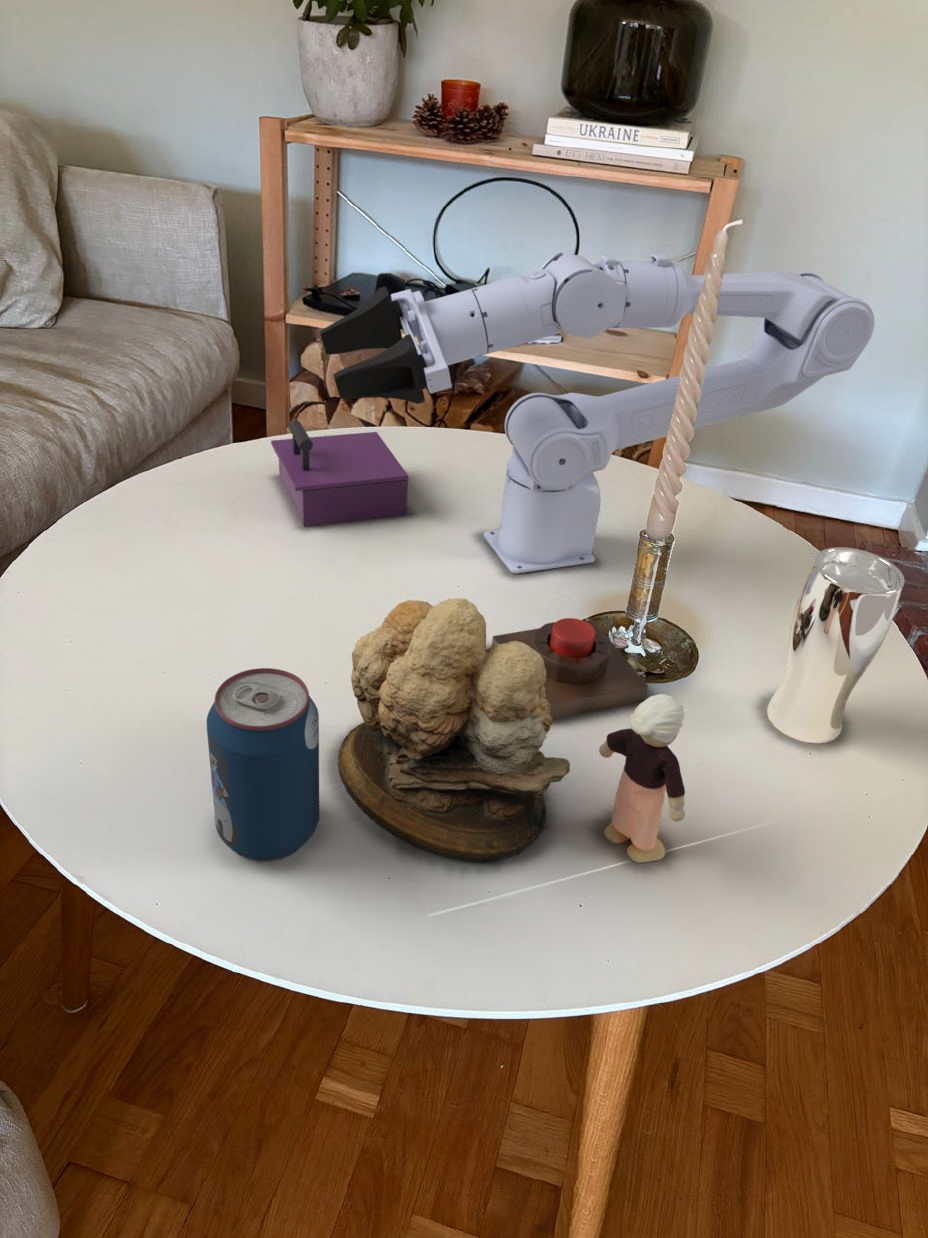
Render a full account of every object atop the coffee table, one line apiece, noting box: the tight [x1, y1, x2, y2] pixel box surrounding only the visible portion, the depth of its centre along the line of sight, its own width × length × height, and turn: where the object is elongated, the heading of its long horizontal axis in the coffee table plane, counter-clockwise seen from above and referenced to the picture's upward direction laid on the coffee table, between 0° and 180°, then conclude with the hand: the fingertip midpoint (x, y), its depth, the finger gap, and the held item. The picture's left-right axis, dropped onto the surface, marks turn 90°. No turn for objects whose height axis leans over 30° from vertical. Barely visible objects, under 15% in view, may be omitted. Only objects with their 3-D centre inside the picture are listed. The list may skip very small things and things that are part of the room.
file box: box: [278, 459, 409, 527], centre depth 105 cm, size 11×11×4 cm
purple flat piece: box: [270, 419, 409, 491], centre depth 103 cm, size 12×11×4 cm
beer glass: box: [766, 546, 905, 744], centre depth 76 cm, size 7×7×15 cm
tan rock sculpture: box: [337, 597, 571, 862], centre depth 66 cm, size 18×12×17 cm, turn 55°
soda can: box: [206, 667, 320, 863], centre depth 62 cm, size 7×7×12 cm
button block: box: [491, 619, 649, 720], centre depth 82 cm, size 10×10×4 cm
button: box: [550, 617, 595, 659], centre depth 81 cm, size 4×4×2 cm
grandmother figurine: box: [598, 693, 686, 864], centre depth 65 cm, size 8×4×13 cm, turn 48°
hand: (329, 364), depth 84 cm, fingers open, 7 cm apart
